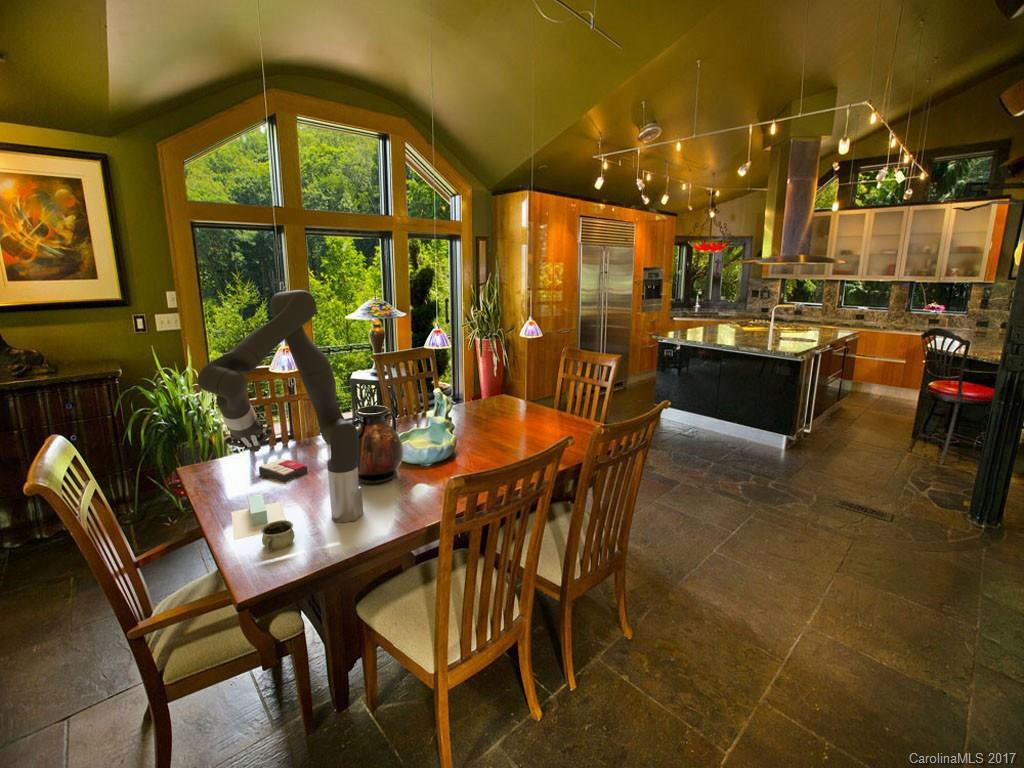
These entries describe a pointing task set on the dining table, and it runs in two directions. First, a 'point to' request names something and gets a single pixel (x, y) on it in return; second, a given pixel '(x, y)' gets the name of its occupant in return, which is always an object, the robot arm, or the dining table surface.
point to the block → (257, 510)
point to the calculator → (282, 469)
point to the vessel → (277, 535)
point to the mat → (244, 523)
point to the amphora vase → (377, 446)
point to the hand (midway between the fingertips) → (256, 449)
